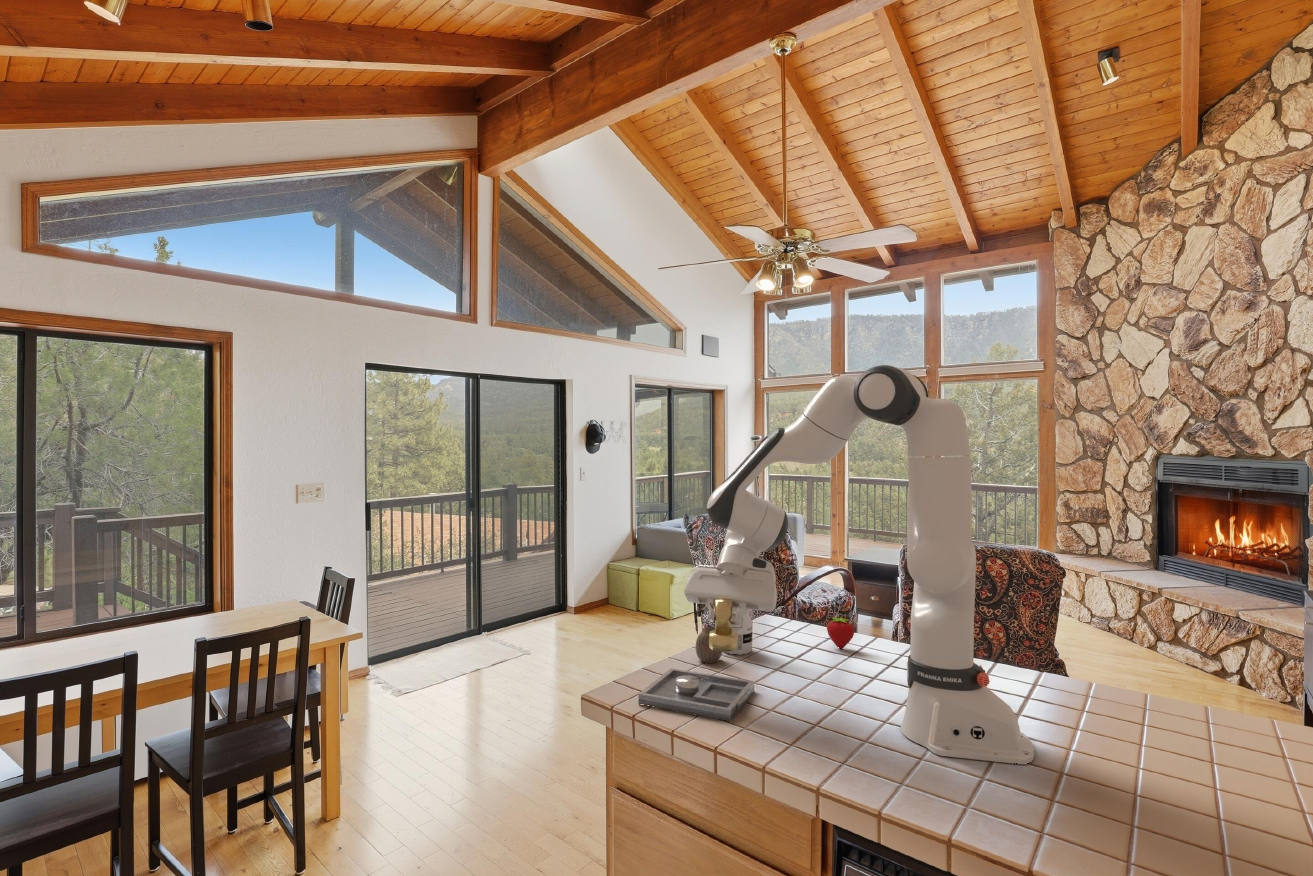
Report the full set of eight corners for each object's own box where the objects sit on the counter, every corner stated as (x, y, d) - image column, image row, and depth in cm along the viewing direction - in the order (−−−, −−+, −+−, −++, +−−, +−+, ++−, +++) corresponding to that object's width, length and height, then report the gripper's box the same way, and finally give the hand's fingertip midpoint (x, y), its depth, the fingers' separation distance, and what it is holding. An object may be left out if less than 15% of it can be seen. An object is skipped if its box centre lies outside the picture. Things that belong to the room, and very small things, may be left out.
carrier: (756, 691, 146) (756, 675, 147) (732, 722, 130) (732, 703, 130) (670, 677, 155) (670, 662, 155) (638, 704, 138) (638, 687, 138)
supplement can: (716, 647, 179) (717, 592, 179) (744, 645, 181) (745, 590, 182) (728, 656, 171) (729, 598, 171) (757, 654, 174) (758, 597, 174)
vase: (722, 657, 171) (723, 623, 171) (722, 665, 164) (723, 630, 164) (695, 655, 171) (696, 621, 172) (694, 664, 165) (695, 629, 165)
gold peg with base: (740, 645, 142) (741, 598, 142) (732, 653, 136) (733, 604, 137) (714, 641, 144) (714, 595, 144) (705, 649, 139) (706, 601, 139)
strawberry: (849, 654, 174) (850, 616, 175) (822, 649, 179) (823, 612, 179) (857, 649, 179) (858, 612, 179) (831, 644, 184) (831, 608, 184)
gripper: (690, 556, 151) (673, 608, 142) (778, 563, 143) (767, 619, 134) (696, 572, 155) (680, 624, 146) (783, 580, 147) (772, 635, 138)
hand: (722, 622), depth 140 cm, fingers closed on gold peg with base, 4 cm apart
